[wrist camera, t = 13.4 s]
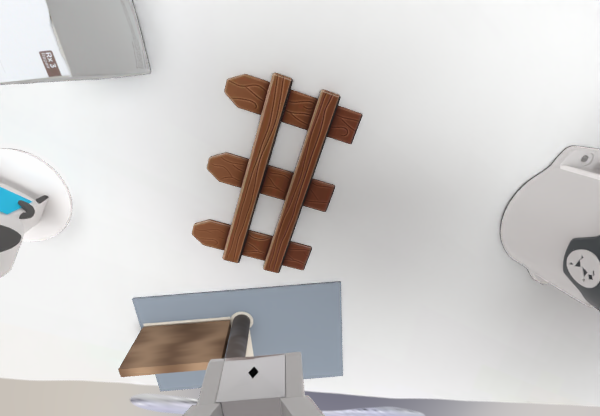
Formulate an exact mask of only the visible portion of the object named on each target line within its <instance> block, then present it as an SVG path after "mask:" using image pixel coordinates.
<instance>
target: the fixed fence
mask: <svg viewBox="0 0 600 416" xmlns="http://www.w3.org/2000/svg"><path fill="white" fill-rule="evenodd" d="M249 328H250V318H249V317H248V316H246V315H243V314H240V315H237V316H235V317H234V319H233V323H232V328H231V323H230V320H227V321H215V322H203V323H190V324H178V325H166V326H154V327H143V328H142V330H141V331H140V333H139V335H138V336H137V338H136V340H135V342H134V343H133V345H132V347H131V349H130V350H129V352H128V354H127V356H126V357H125V359H124V361H123V362H122V364H121V366H120V368H119V369H118V370H119V372H120V375H121V377H127V376H139V375H151V374H163V373H175V372H187V371H199V370H206V369H207V366H208V363H209V361H210V360H211V359H223V358H234V357H245V356H246V349H247V342H248V335H249ZM230 331H231V333H230ZM229 336H230V337H229ZM228 340H229V342H228ZM227 345H228V346H227ZM226 349H227V351H226ZM225 354H226V356H225Z"/></svg>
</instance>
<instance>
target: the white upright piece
mask: <svg viewBox="0 0 600 416" xmlns="http://www.w3.org/2000/svg"><path fill="white" fill-rule="evenodd" d="M71 215H72V199H71V195H70V192H69V190H68V187H67V185H66V184H65V182H64V180H63V179H62V178H61V176H60V175H59V174H58V173H57V172H56V171H55V170H54V169H53V168H52V167H51V166H50V165H49V164H47V163H46V162H45V161H43V160H42V159H40V158H38V157H36V156H34V155H32V154H30V153H27V152H24V151H21V150H16V149H0V278H1V277H3V276H4V275H6V274H7V273H8V272H9V271H10V270H11V269H12V266H13V264H14V261H15V258H16V256H17V253H18V250H19V248H20V245H21V242H22V241H30V242H35V241H43V240H47V239H49V238H52V237H54V236H56V235H57V234H59V233H60V232H61V231H62V230H63V229H64V228H65V227H66V226H67V224H68V223H69V221H70V218H71Z"/></svg>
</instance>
